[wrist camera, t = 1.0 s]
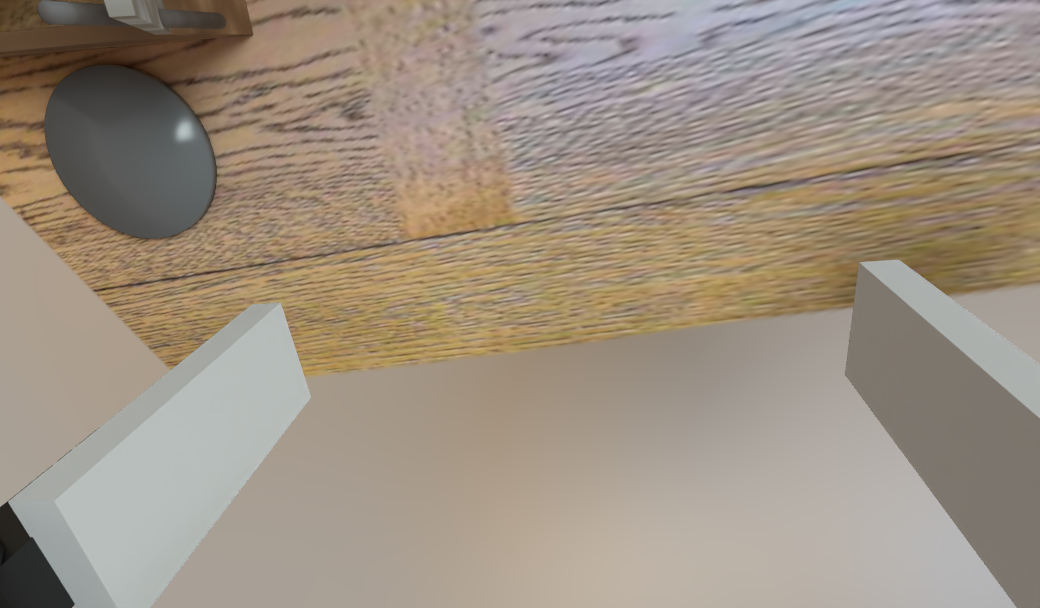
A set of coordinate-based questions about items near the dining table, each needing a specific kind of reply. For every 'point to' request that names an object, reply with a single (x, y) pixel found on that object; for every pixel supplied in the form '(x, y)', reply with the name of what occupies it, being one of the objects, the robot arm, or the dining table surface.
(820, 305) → the dining table surface
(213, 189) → the gray round coaster
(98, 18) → the cold frame
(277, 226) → the dining table surface
